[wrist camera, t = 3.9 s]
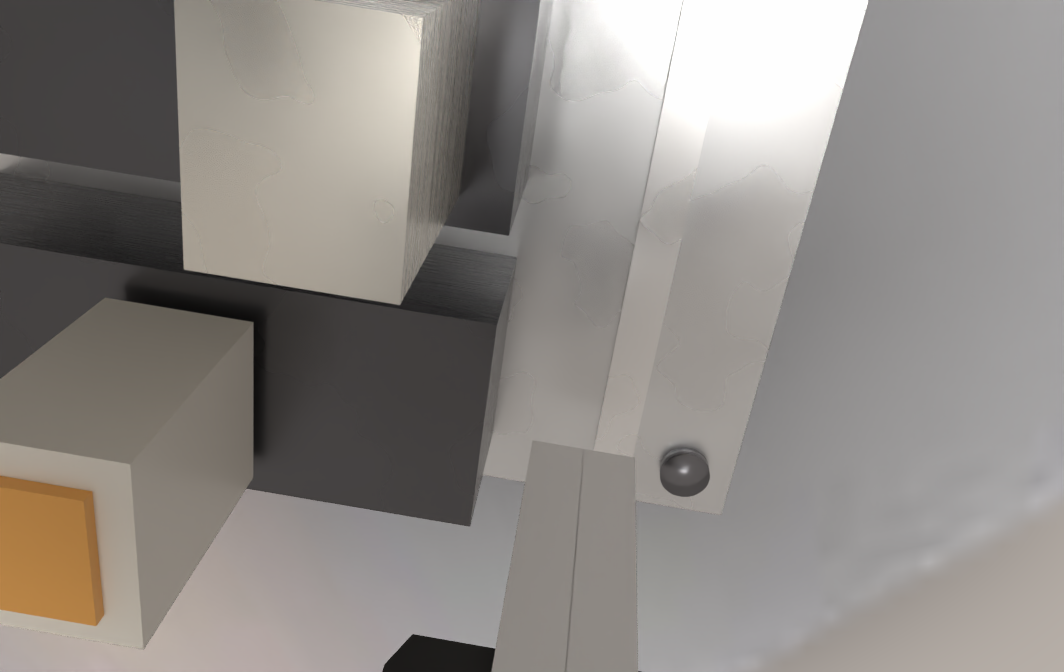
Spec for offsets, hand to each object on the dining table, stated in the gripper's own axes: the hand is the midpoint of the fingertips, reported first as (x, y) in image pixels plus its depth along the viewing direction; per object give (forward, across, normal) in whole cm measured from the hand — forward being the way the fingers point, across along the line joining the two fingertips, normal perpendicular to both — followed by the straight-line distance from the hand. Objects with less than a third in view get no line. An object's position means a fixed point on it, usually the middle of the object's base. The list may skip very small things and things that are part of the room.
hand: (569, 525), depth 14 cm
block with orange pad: (+2, -7, 0) cm, 7 cm away
